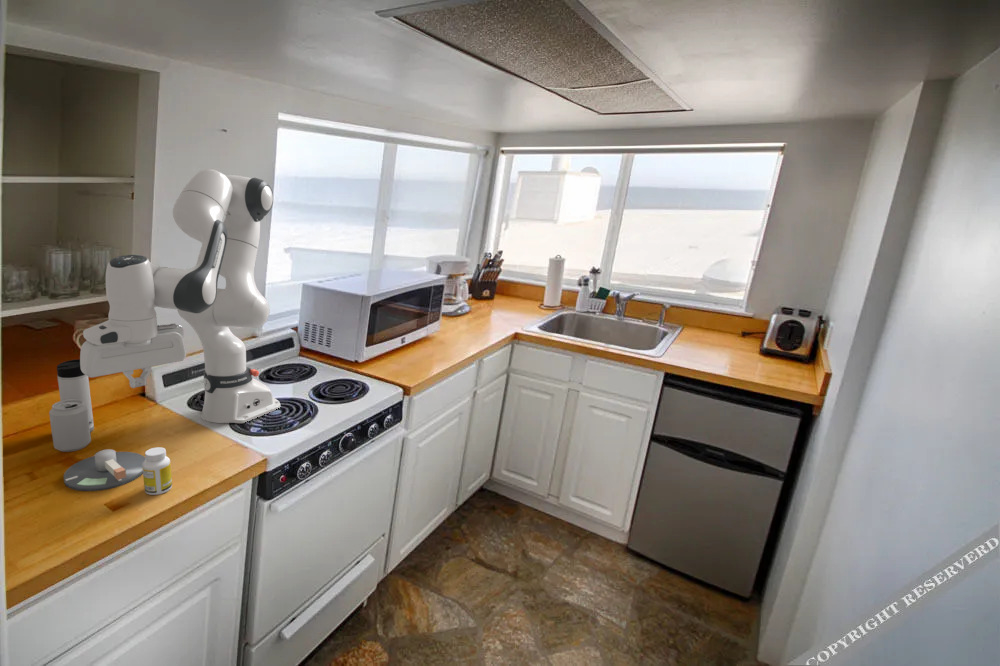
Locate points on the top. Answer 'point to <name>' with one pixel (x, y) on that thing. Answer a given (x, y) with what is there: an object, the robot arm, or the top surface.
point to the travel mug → (74, 385)
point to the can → (70, 425)
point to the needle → (109, 463)
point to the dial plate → (103, 473)
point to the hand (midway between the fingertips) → (138, 386)
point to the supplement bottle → (156, 471)
